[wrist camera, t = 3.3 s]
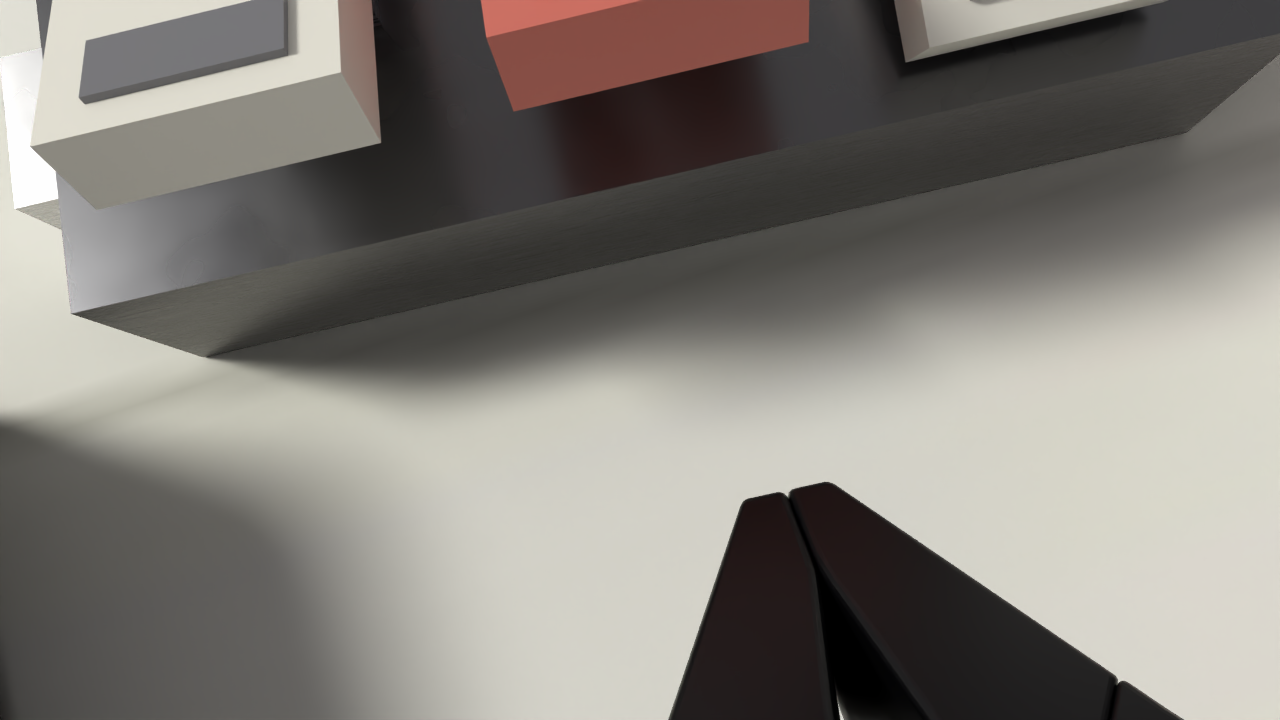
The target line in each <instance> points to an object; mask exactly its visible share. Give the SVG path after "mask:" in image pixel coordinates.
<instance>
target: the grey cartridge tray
mask: <svg viewBox="0 0 1280 720" xmlns="http://www.w3.org/2000/svg"><path fill="white" fill-rule="evenodd" d="M36 3H37V12H38V21H39V30H40V39H41V48H37V49H33V50H29V51H25V52H21V53H17V54H12V55H8V56H4V57H0V69H1V78H2V88H3V98H4V108H5V118H6V127H7V137H8V147H9V157H10V166H11V176H12V186H13V196H14V205H15V209H17V210H19V211H21V212H23V213H25V214H28V215H30V216H32V217H34V218H37V219H39V220H41V221H43V222H45V223H48V224H50V225H52V226H54V227H56V228H59V229H61V230H62V237H63V246H64V255H65V264H66V273H67V282H68V291H69V300H70V309H71V314H73V315H76V316H79V317H82V318H86V319H89V320H92V321H95V322H98V323H101V324H104V325H107V326H110V327H113V328H116V329H119V330H122V331H125V332H128V333H131V334H134V335H137V336H140V337H143V338H146V339H149V340H152V341H155V342H158V343H161V344H164V345H167V346H170V347H174V348H177V349H180V350H183V351H186V352H189V353H192V354H195V355H198V356H201V357H206V356H210V355H214V354H219V353H223V352H228V351H232V350H236V349H241V348H245V347H249V346H254V345H258V344H263V343H267V342H271V341H276V340H280V339H284V338H289V337H293V336H298V335H302V334H306V333H311V332H315V331H319V330H324V329H328V328H333V327H337V326H341V325H346V324H350V323H354V322H359V321H363V320H368V319H372V318H376V317H381V316H385V315H389V314H394V313H398V312H403V311H407V310H411V309H416V308H420V307H424V306H429V305H433V304H438V303H442V302H446V301H451V300H455V299H459V298H464V297H468V296H473V295H477V294H481V293H486V292H490V291H494V290H499V289H503V288H508V287H512V286H516V285H521V284H525V283H529V282H534V281H538V280H543V279H547V278H551V277H556V276H560V275H564V274H569V273H573V272H578V271H582V270H586V269H591V268H595V267H599V266H604V265H608V264H613V263H617V262H621V261H626V260H630V259H634V258H639V257H643V256H648V255H652V254H656V253H661V252H665V251H669V250H674V249H678V248H683V247H687V246H691V245H696V244H700V243H704V242H709V241H713V240H718V239H722V238H726V237H731V236H735V235H739V234H744V233H748V232H753V231H757V230H761V229H766V228H770V227H774V226H779V225H783V224H788V223H792V222H796V221H801V220H805V219H810V218H814V217H818V216H823V215H827V214H831V213H836V212H840V211H845V210H849V209H853V208H858V207H862V206H866V205H871V204H875V203H880V202H884V201H888V200H893V199H897V198H901V197H906V196H910V195H915V194H919V193H923V192H928V191H932V190H936V189H941V188H945V187H950V186H954V185H958V184H963V183H967V182H971V181H976V180H980V179H985V178H989V177H993V176H998V175H1002V174H1006V173H1011V172H1015V171H1020V170H1024V169H1028V168H1033V167H1037V166H1041V165H1046V164H1050V163H1055V162H1059V161H1063V160H1068V159H1072V158H1076V157H1081V156H1085V155H1090V154H1094V153H1098V152H1103V151H1107V150H1111V149H1116V148H1120V147H1125V146H1129V145H1133V144H1138V143H1142V142H1146V141H1151V140H1155V139H1160V138H1164V137H1168V136H1173V135H1177V134H1181V133H1186V132H1188V131H1189V130H1190V129H1191V128H1192V127H1194V126H1195V125H1196V124H1197V123H1198V122H1199V121H1201V120H1202V119H1203V118H1204V117H1205V116H1207V115H1208V114H1209V113H1210V112H1211V111H1212V110H1214V109H1215V108H1216V107H1217V106H1218V105H1220V104H1221V103H1222V102H1223V101H1224V100H1225V99H1227V98H1228V97H1229V96H1230V95H1231V94H1233V93H1234V92H1235V91H1236V90H1237V89H1238V88H1240V87H1241V86H1242V85H1243V84H1244V83H1246V82H1247V81H1248V80H1249V79H1250V78H1251V77H1253V76H1254V75H1255V74H1256V73H1257V72H1259V71H1260V70H1261V69H1262V68H1263V67H1265V66H1266V65H1267V64H1268V63H1269V62H1270V61H1272V60H1273V59H1274V58H1275V57H1276V56H1278V55H1279V54H1280V0H1167V1H1165V2H1162V3H1158V4H1153V5H1149V6H1145V7H1141V8H1136V9H1132V10H1128V11H1123V12H1119V13H1115V14H1111V15H1106V16H1102V17H1098V18H1094V19H1089V20H1085V21H1081V22H1077V23H1072V24H1068V25H1064V26H1059V27H1055V28H1051V29H1047V30H1042V31H1038V32H1034V33H1030V34H1025V35H1021V36H1017V37H1012V38H1008V39H1004V40H1000V41H995V42H991V43H987V44H983V45H978V46H974V47H970V48H965V49H961V50H957V51H953V52H948V53H944V54H940V55H936V56H931V57H927V58H923V59H919V60H914V61H910V62H905V56H904V51H903V46H902V40H901V35H900V29H899V24H898V19H897V13H896V8H895V2H894V0H809V42H807V43H802V44H798V45H794V46H790V47H786V48H781V49H777V50H773V51H769V52H764V53H760V54H756V55H752V56H747V57H743V58H739V59H735V60H730V61H726V62H722V63H718V64H713V65H709V66H705V67H701V68H697V69H692V70H688V71H684V72H680V73H675V74H671V75H667V76H663V77H658V78H654V79H650V80H646V81H641V82H637V83H633V84H629V85H624V86H620V87H616V88H612V89H608V90H603V91H599V92H595V93H591V94H586V95H582V96H578V97H574V98H569V99H565V100H561V101H557V102H552V103H548V104H544V105H540V106H536V107H531V108H527V109H523V110H519V111H513V108H512V106H511V103H510V100H509V97H508V95H507V92H506V89H505V87H504V84H503V81H502V79H501V76H500V73H499V71H498V68H497V65H496V63H495V60H494V57H493V54H492V52H491V49H490V46H489V44H488V41H487V38H486V32H485V25H484V18H483V11H482V4H481V0H372V12H373V27H374V42H375V58H376V73H377V88H378V103H379V118H380V133H381V143H378V144H374V145H370V146H366V147H362V148H357V149H353V150H349V151H345V152H340V153H336V154H332V155H328V156H323V157H319V158H315V159H311V160H306V161H302V162H298V163H294V164H289V165H285V166H281V167H277V168H273V169H268V170H264V171H260V172H256V173H251V174H247V175H243V176H239V177H234V178H230V179H226V180H222V181H217V182H213V183H209V184H205V185H200V186H196V187H192V188H188V189H184V190H179V191H175V192H171V193H167V194H162V195H158V196H154V197H150V198H145V199H141V200H137V201H133V202H128V203H124V204H120V205H116V206H112V207H107V208H103V209H99V210H96V209H95V208H94V207H93V206H92V205H91V204H90V203H89V202H88V201H87V200H86V199H85V198H83V197H82V196H81V195H80V194H79V193H78V192H77V191H76V190H75V189H74V188H73V187H72V186H71V185H70V184H69V183H68V182H67V181H66V180H64V179H63V178H62V177H61V176H60V175H59V174H58V173H57V172H56V171H55V170H54V169H53V168H52V167H51V166H50V165H49V164H48V163H47V162H45V161H44V160H43V159H42V158H41V157H40V156H39V155H38V154H37V153H36V152H35V151H34V150H33V149H32V148H31V147H30V143H31V136H32V130H33V123H34V117H35V110H36V104H37V97H38V91H39V84H40V78H41V71H42V65H43V58H44V52H45V45H46V39H47V32H48V26H49V19H50V13H51V6H52V0H36Z"/></svg>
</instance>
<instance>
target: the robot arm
mask: <svg viewBox="0 0 1280 720" xmlns="http://www.w3.org/2000/svg"><path fill="white" fill-rule="evenodd" d="M838 704H839V707H840V710H841V713H842V716H843V718H844V720H1184V719H1182V718H1180V717H1179V716H1177V715H1176V714H1174V713H1173V712H1171V711H1170V710H1168V709H1166V708H1165V707H1164V706H1162V705H1161V704H1159V703H1158V702H1156V701H1155V700H1153V699H1152V698H1150V697H1149V696H1147V695H1146V694H1144V693H1143V692H1141V691H1140V690H1138V689H1137V688H1136V687H1134V686H1133V685H1131V684H1130V683H1128V682H1126V681H1121V682H1119V683H1118V679H1117V677H1116V676H1115V675H1114V674H1112V673H1111V672H1109V671H1108V670H1106V669H1105V668H1104V667H1102V666H1101V665H1099V664H1098V663H1096V662H1095V661H1093V660H1092V659H1090V658H1089V657H1087V656H1086V655H1084V654H1083V653H1082V652H1080V651H1079V650H1077V649H1076V648H1074V647H1073V646H1071V645H1070V644H1068V643H1067V642H1065V641H1064V640H1062V639H1061V638H1059V637H1058V636H1057V635H1055V634H1054V633H1052V632H1051V631H1049V630H1048V629H1046V628H1045V627H1043V626H1042V625H1040V624H1039V623H1037V622H1036V621H1035V620H1033V619H1032V618H1030V617H1029V616H1027V615H1026V614H1024V613H1023V612H1021V611H1020V610H1018V609H1017V608H1015V607H1014V606H1012V605H1011V604H1010V603H1008V602H1007V601H1005V600H1004V599H1002V598H1001V597H999V596H998V595H996V594H995V593H993V592H992V591H990V590H989V589H988V588H986V587H985V586H983V585H982V584H980V583H979V582H977V581H976V580H974V579H973V578H971V577H970V576H968V575H967V574H965V573H964V572H963V571H961V570H960V569H958V568H957V567H955V566H954V565H952V564H951V563H949V562H948V561H946V560H945V559H943V558H942V557H941V556H939V555H938V554H936V553H935V552H933V551H932V550H930V549H929V548H927V547H926V546H924V545H923V544H921V543H920V542H918V541H917V540H916V539H914V538H913V537H911V536H910V535H908V534H907V533H905V532H904V531H902V530H901V529H899V528H898V527H896V526H895V525H894V524H892V523H891V522H889V521H888V520H886V519H885V518H883V517H882V516H880V515H879V514H877V513H876V512H874V511H873V510H871V509H870V508H869V507H867V506H866V505H864V504H863V503H861V502H860V501H858V500H857V499H855V498H854V497H852V496H851V495H849V494H848V493H847V492H845V491H844V490H842V489H841V488H839V487H838V486H836V485H835V484H833V483H830V482H822V483H818V484H813V485H809V486H804V487H799V488H795V489H792V490H791V491H790V492H789V495H788V497H787V496H786V495H785V494H784V493H781V492H776V493H772V494H767V495H763V496H758V497H754V498H749V499H746V500H744V501H743V503H742V505H741V506H740V509H739V512H738V515H737V518H736V521H735V524H734V527H733V530H732V533H731V536H730V539H729V541H728V544H727V547H726V550H725V553H724V556H723V559H722V562H721V565H720V568H719V571H718V574H717V577H716V580H715V583H714V586H713V589H712V592H711V595H710V598H709V601H708V604H707V607H706V610H705V613H704V616H703V619H702V622H701V624H700V627H699V630H698V633H697V636H696V639H695V642H694V645H693V648H692V651H691V654H690V657H689V660H688V663H687V666H686V669H685V672H684V675H683V678H682V681H681V684H680V687H679V690H678V693H677V696H676V699H675V702H674V704H673V707H672V710H671V713H670V716H669V719H668V720H840V715H839V708H838Z"/></svg>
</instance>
